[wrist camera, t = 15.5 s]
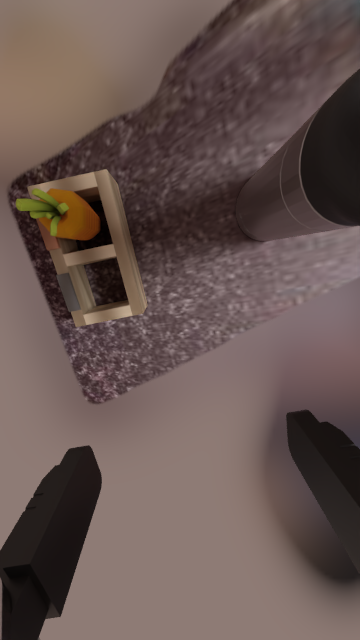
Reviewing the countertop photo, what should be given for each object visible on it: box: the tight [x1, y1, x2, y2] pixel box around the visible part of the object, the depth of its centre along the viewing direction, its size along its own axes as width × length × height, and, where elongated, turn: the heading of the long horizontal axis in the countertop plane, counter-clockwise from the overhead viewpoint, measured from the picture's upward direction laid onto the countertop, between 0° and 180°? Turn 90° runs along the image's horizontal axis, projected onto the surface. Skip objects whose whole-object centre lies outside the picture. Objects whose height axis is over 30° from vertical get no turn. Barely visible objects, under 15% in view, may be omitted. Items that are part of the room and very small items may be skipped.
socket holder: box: [27, 169, 147, 327], centre depth 31 cm, size 10×18×6 cm, turn 11°
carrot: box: [16, 188, 101, 240], centre depth 25 cm, size 5×5×15 cm
